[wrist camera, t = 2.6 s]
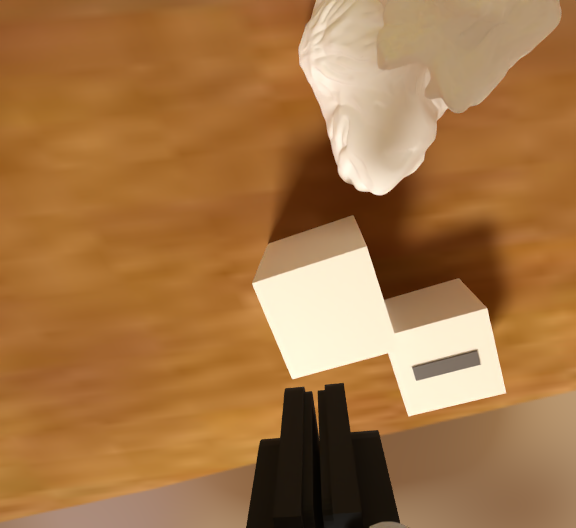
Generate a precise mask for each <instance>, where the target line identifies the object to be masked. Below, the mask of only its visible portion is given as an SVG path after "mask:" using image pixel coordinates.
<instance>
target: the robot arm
mask: <svg viewBox="0 0 576 528" xmlns="http://www.w3.org/2000/svg"><path fill="white" fill-rule="evenodd" d="M318 412H319V434H318V428H317V421H316V414H315V407H314V400H313V394H312V391H310V392H305V388H304V387H296V388H286V389H285V393H284V404H283V415H282V425H281V436H280V438H275V439H262V440H261V441H260V445H259V450H258V456H257V463H256V469H255V476H254V482H253V488H252V495H251V501H250V507H249V514H248V520H247V526H246V528H409V527H407V526H405V525H403V524H400V520H399V516H398V512H397V508H396V503H395V499H394V495H393V490H392V486H391V482H390V478H389V473H388V469H387V465H386V460H385V457H384V452H383V448H382V443H381V440H380V435H379V432H378V430H374V431H362V432H350V425H349V418H348V411H347V404H346V397H345V390H344V383H339V384H328V385H325V390H321V391H318ZM319 440H320V441H319Z"/></svg>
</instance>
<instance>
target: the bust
mask: <svg viewBox="0 0 576 528" xmlns="http://www.w3.org/2000/svg"><path fill="white" fill-rule="evenodd" d="M560 19H561V7H560V3H559V0H316V2H315V5H314V9H313V12H312V16H311V19H310V20H309V22H308V23H307V24H306V27H305V30H304V33H303V36H302V39H301V42H300V45H299V64H300V66H301V68H302V69H303V71H304V73H305V75H306V78H307V80H308V82H309V83H310V85H311V86H312V88H313V91H314V94H315V97H316V98H317V100H318V102H319V104H320V107H321V110H322V114H323V117H324V118H325V120H326V125H327V132H328V136H329V138H330V141H331V146H332V152H333V155H334V158H335V162H336V164H337V166H338V174H339V176H340V177H341V178H342V180H344V181H345V182H346V183H348V184H352V185H354V186H355V188H356V189H357V190H358V191H362V192H371V193H373V194H375V195H384V194H386V193H388V192H389V191H390V190H392V189H393V188H394V187H395V186H396V185H397V184H398V183H399V182H400V181H401V180H402V179H403V178H404V177H406V176H408V175H410V174H412V173H413V172H415V171H416V170H417V169H418V167H419V166H420V165H421V163H422V162H423V161H424V157H425V151H426V150H427V149H428V147H429V146H430V145H431V144H432V143H433V141H434V140H435V137H436V130H437V120H438V119H439V118H440V117H441V116H442V115H443V114H444V112H445V111H446V109H448V108H449V109H450V110H451V111H453V112H455V113H462V112H464V111H465V110H467V109H468V108H469V106H475V105H478V104H479V103H481V102H482V101H483V100H484V99H485V98H486V97H487V96H488V95H489V94H490V93H491V92H492V90H493V89H494V88H495V87H496V86H497V85H498V84H499V82H500V81H501V80H502V79H503V78H504V77H505V75H506V73H507V71H508V69H509V68H511V67H512V66H513V65H514V64H515V63H516V62H517V61H518V60H519V59H520V58H522V57H523V56H525V55H526V54H528V53H529V52H530V51H532V50H533V49H534V48H535V47H536V46H537V45H538V44H539V43H540V42H541V41H542V40H543V39H545V38H546V37H547V36H548V35H549V34H550V33H551V32H552V31H553V30H554V29H555V28H556V27H557V25H558V24H559V22H560Z"/></svg>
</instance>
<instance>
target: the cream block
mask: <svg viewBox="0 0 576 528" xmlns="http://www.w3.org/2000/svg"><path fill="white" fill-rule="evenodd" d="M252 285H253V287H254V289H255V292H256V294H257V297H258V299H259V301H260V304H261V306H262V308H263V311H264V313H265V316H266V318H267V320H268V323H269V325H270V327H271V330H272V332H273V335H274V337H275V339H276V342H277V344H278V346H279V349H280V351H281V354H282V356H283V358H284V361H285V363H286V365H287V368H288V370H289V373H290V375H291V377H292V379H295V378H299V377H302V376H306V375H310V374H313V373H317V372H321V371H324V370H328V369H332V368H335V367H339V366H343V365H346V364H350V363H354V362H357V361H361V360H365V359H368V358H372V357H376V356H379V355H383V354H387V353H390V352H394V351H398V350H399V346H398V343H397V340H396V337H395V334H394V331H393V327H392V324H391V321H390V318H389V315H388V312H387V308H386V305H385V302H384V299H383V296H382V293H381V289H380V286H379V283H378V280H377V277H376V274H375V270H374V267H373V264H372V261H371V258H370V255H369V251H368V248H367V245H366V243H365V241H364V238H363V236H362V234H361V231H360V229H359V227H358V224H357V222H356V220H355V218H354V215H352V216H349V217H346V218H343V219H340V220H337V221H334V222H331V223H328V224H325V225H322V226H319V227H316V228H313V229H310V230H307V231H304V232H301V233H298V234H296V235H293V236H290V237H287V238H284V239H281V240H278V241H275V242H272V243H269V244H268V245H267V247H266V250H265V252H264V255H263V257H262V260H261V262H260V265H259V267H258V270H257V272H256V275H255V277H254V279H253V282H252Z"/></svg>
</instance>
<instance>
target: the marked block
mask: <svg viewBox="0 0 576 528" xmlns="http://www.w3.org/2000/svg"><path fill="white" fill-rule="evenodd" d="M384 302H385V305H386V308H387V312H388V315H389V318H390V321H391V324H392V327H393V331H394V334H395V337H396V340H397V343H398V346H399V350H398V351H394V352H390V353H388V354H389V358H390V361H391V364H392V367H393V370H394V373H395V376H396V379H397V382H398V386H399V389H400V392H401V395H402V398H403V401H404V404H405V407H406V410H407V413H408V416H412V415H416V414H420V413H424V412H428V411H433V410H437V409H441V408H445V407H449V406H454V405H458V404H462V403H466V402H470V401H475V400H479V399H483V398H487V397H491V396H496V395H500V394H504V393H506V391H505V386H504V382H503V377H502V373H501V368H500V364H499V359H498V355H497V350H496V346H495V341H494V336H493V332H492V327H491V323H490V318H489V314H488V309H487V307H486V306H485V305H484V304H483V303H482V302H481V301H480V300H479V299H478V298H477V297H476V296H475V295H474V294H473V293H472V292H471V290H470V289H469V288H468V287H467V286H466V285H465V284H464V283H463V282H462V281H461V280H460V279H459V278H458V279H454V280H451V281H447V282H444V283H441V284H437V285H434V286H430V287H427V288H423V289H420V290H416V291H413V292H410V293H406V294H403V295H399V296H396V297H392V298H389V299H385V300H384Z"/></svg>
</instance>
